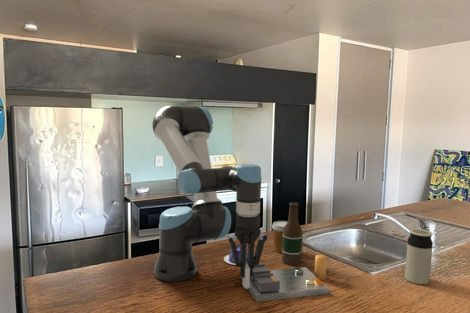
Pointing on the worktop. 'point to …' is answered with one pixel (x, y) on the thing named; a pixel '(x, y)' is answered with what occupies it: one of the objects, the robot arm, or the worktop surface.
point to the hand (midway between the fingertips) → (245, 286)
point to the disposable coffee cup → (278, 234)
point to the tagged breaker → (266, 282)
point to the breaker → (259, 270)
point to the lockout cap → (320, 267)
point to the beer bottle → (292, 238)
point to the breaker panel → (291, 285)
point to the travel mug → (419, 256)
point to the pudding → (231, 259)
